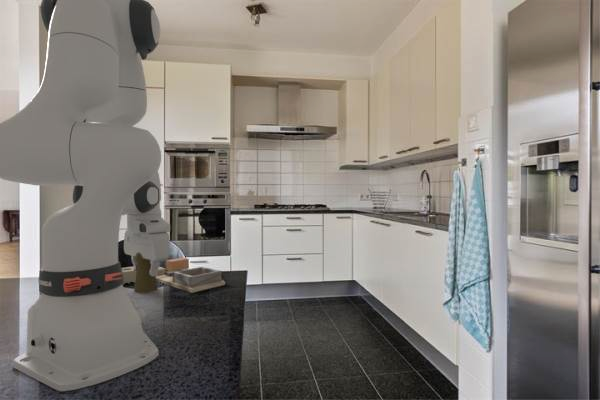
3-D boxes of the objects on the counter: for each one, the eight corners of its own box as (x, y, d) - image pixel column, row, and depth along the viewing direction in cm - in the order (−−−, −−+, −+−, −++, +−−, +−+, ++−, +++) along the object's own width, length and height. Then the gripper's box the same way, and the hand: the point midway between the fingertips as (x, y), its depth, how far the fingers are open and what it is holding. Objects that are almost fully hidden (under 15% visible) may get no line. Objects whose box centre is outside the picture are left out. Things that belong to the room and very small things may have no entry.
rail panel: (225, 284, 100) (224, 271, 100) (191, 292, 92) (191, 278, 92) (184, 274, 114) (184, 262, 114) (153, 280, 106) (152, 267, 106)
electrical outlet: (165, 265, 111) (103, 274, 98) (165, 278, 111) (104, 288, 98) (156, 262, 116) (97, 271, 103) (156, 274, 116) (97, 284, 103)
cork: (133, 293, 91) (132, 253, 91) (134, 288, 97) (133, 250, 96) (157, 291, 94) (157, 251, 93) (157, 286, 99) (156, 248, 99)
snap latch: (188, 268, 108) (188, 258, 108) (171, 271, 103) (171, 261, 103) (183, 266, 110) (183, 257, 110) (166, 270, 106) (165, 260, 106)
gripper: (117, 223, 99) (118, 270, 100) (150, 227, 86) (151, 281, 86) (139, 221, 104) (139, 266, 104) (173, 225, 91) (174, 276, 91)
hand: (145, 273), depth 95 cm, fingers open, 8 cm apart
